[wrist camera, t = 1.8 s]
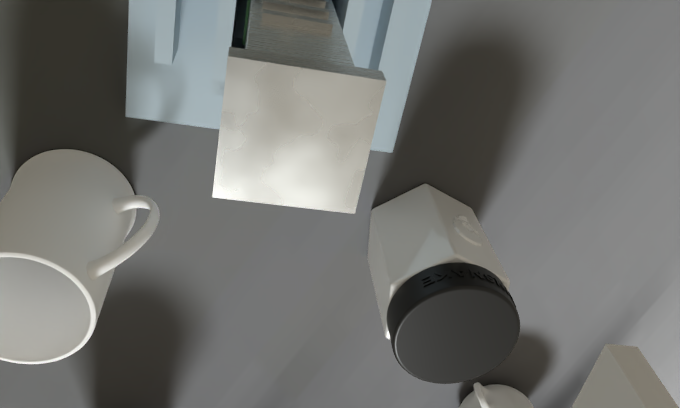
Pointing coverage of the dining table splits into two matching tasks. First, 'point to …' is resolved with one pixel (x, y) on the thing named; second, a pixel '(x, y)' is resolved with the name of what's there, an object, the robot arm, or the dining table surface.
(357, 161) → the column
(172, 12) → the stand base
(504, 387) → the teacup
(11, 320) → the mug
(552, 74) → the dining table surface
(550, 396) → the dining table surface
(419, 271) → the jar
